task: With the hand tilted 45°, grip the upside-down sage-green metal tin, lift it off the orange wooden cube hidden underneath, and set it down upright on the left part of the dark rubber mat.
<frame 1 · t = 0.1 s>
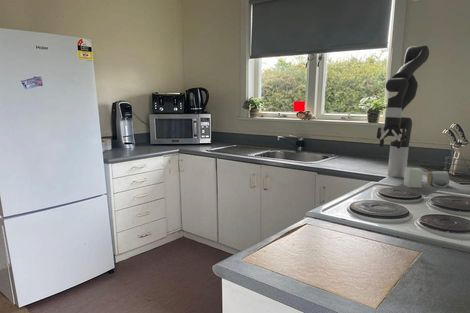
hand: (389, 147, 173), 17 cm above the worktop, tool pointing down, fingers open, 8 cm apart
mat: (415, 189, 155), on the worktop
ceramic mug: (438, 187, 163), on the worktop
cube: (412, 185, 160), point 1 cm above the worktop, touching mat
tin: (412, 185, 160), point 1 cm above the worktop, touching mat
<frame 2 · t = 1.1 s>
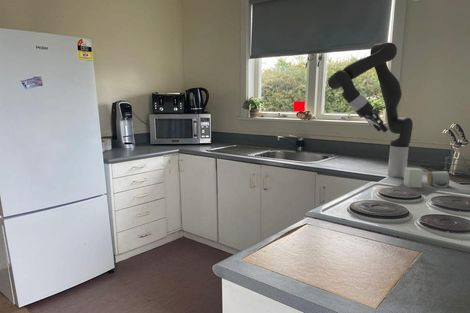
hand: (383, 130, 157), 27 cm above the worktop, tool tilted 45°, fingers open, 8 cm apart
nothing on the worktop moved.
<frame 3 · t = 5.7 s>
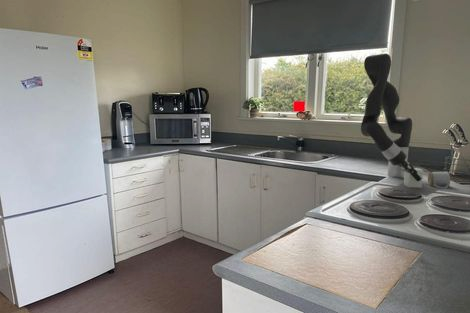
hand: (416, 178, 160), 4 cm above the worktop, tool tilted 45°, fingers closed on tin, 6 cm apart
ceramic mug: (439, 187, 161), on the worktop
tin: (412, 185, 160), point 1 cm above the worktop, touching gripper, mat
everything else where it was.
when the fingers open (6 cm above the worktop, at t = 11.9 s): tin drops 1 cm, resting on mat.
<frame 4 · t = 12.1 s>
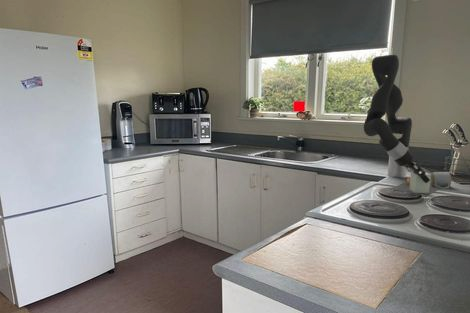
hand: (423, 179, 149), 6 cm above the worktop, tool tilted 45°, fingers open, 8 cm apart
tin: (418, 191, 150), point 1 cm above the worktop, touching mat
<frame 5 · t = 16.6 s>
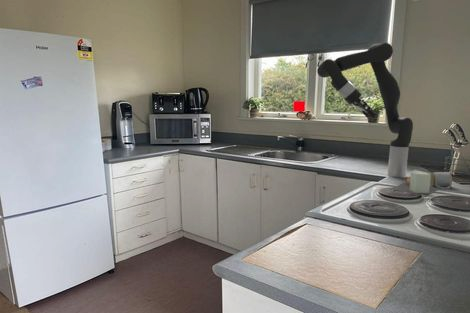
hand: (371, 116, 163), 34 cm above the worktop, tool tilted 45°, fingers open, 8 cm apart
at the end: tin 0.1 cm from the target spot on the mat, point 0.6 cm above the mat's base; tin tilted 0°; the gripper is holding nothing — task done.
